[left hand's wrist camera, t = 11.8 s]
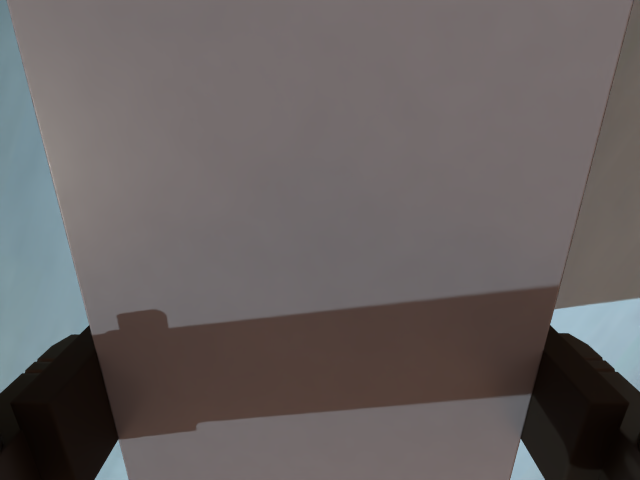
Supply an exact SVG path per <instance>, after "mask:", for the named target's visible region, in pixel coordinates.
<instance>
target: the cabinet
mask: <svg viewBox="0 0 640 480" xmlns="http://www.w3.org/2000/svg"><path fill="white" fill-rule="evenodd" d="M633 2H634V0H7V4H8V8H9V12H10V15H11V19H12V23H13V27H14V31H15V35H16V39H17V43H18V47H19V51H20V55H21V59H22V63H23V66H24V70H25V74H26V78H27V82H28V86H29V90H30V94H31V98H32V102H33V106H34V110H35V114H36V117H37V121H38V125H39V129H40V133H41V137H42V141H43V145H44V149H45V153H46V157H47V161H48V165H49V168H50V172H51V176H52V180H53V184H54V188H55V192H56V196H57V200H58V204H59V208H60V212H61V216H62V219H63V223H64V227H65V231H66V235H67V239H68V243H69V247H70V251H71V255H72V259H73V263H74V267H75V270H76V274H77V278H78V282H79V286H80V290H81V294H82V298H83V302H84V306H85V310H86V314H87V318H88V322H89V325H90V329H91V333H92V337H93V341H94V345H95V349H96V353H97V357H98V361H99V365H100V369H101V373H102V376H103V380H104V384H105V388H106V392H107V396H108V400H109V404H110V408H111V412H112V416H113V420H114V424H115V427H116V431H117V435H118V439H119V443H120V447H121V451H122V455H123V459H124V463H125V467H126V471H127V475H128V478H129V480H510V478H511V474H512V470H513V466H514V462H515V458H516V454H517V450H518V447H519V443H520V439H521V435H522V431H523V427H524V423H525V420H526V416H527V412H528V408H529V404H530V400H531V396H532V392H533V389H534V385H535V381H536V377H537V373H538V369H539V365H540V362H541V358H542V354H543V350H544V346H545V342H546V338H547V334H548V331H549V327H550V323H551V319H552V315H553V311H554V307H555V303H556V300H557V296H558V292H559V288H560V284H561V280H562V276H563V273H564V269H565V265H566V261H567V257H568V253H569V249H570V245H571V242H572V238H573V234H574V230H575V226H576V222H577V218H578V215H579V211H580V207H581V203H582V199H583V195H584V191H585V187H586V184H587V180H588V176H589V172H590V168H591V164H592V160H593V156H594V153H595V149H596V145H597V141H598V137H599V133H600V129H601V126H602V122H603V118H604V114H605V110H606V106H607V102H608V98H609V95H610V91H611V87H612V83H613V79H614V75H615V71H616V68H617V64H618V60H619V56H620V52H621V48H622V44H623V40H624V37H625V33H626V29H627V25H628V21H629V17H630V13H631V9H632V6H633Z"/></svg>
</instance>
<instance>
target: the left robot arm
mask: <svg viewBox="0 0 640 480" xmlns="http://www.w3.org/2000/svg"><path fill="white" fill-rule="evenodd" d="M521 440H522V441H523V443H524V445H525V446H526V448H527V450H528V451H529V453H530V455H531V457H532V458H533V460H534V462H535V463H536V465H537V467H538V468H539V470H540V472H541V473H542V475H543V477H544V478H545V480H640V392H639V391H638V390H637V389H636V388H635V387H634V386H633V385H632V384H630V383H629V382H628V381H627V380H626V379H625V378H624V377H623V376H622V375H621V374H619V373H618V372H615V369H614V368H613V367H612V366H611V365H610V364H609V363H607V362H606V361H603V360H602V357H601V356H600V355H599V354H598V353H596V352H595V351H594V350H593V349H592V348H591V347H590V346H589V345H588V344H586V343H584V342H582V341H581V340H579V339H577V338H576V337H574V336H572V335H570V334H569V333H558V332H557V331H556V330H555V329H554V328H553V327H552V326H550V327H549V331H548V334H547V338H546V342H545V346H544V350H543V354H542V358H541V362H540V365H539V369H538V373H537V377H536V381H535V385H534V389H533V392H532V396H531V400H530V404H529V408H528V412H527V416H526V420H525V423H524V427H523V431H522V435H521ZM117 441H118V435H117V431H116V427H115V424H114V420H113V416H112V412H111V408H110V404H109V400H108V396H107V392H106V388H105V384H104V380H103V376H102V373H101V369H100V365H99V361H98V357H97V353H96V349H95V345H94V341H93V337H92V333H91V329H90V325H89V326H88V327H87V328H86V329H85V330H84V331H83V332H82V333H81V334H80V335H70V336H68V337H67V338H65V339H63V340H61V341H60V342H58V343H56V344H54V345H53V346H51V347H50V348H49V349H48V350H47V351H46V352H45V353H44V354H43V355H42V356H41V357H39V358H38V359H37V362H34V363H33V364H32V365H31V366H30V367H29V368H27V369H26V370H25V373H22V374H21V375H20V376H19V377H18V378H17V379H16V380H14V381H13V382H12V383H11V384H10V385H9V386H8V387H7V388H6V389H5V390H4V391H2V392H1V393H0V480H94V479H95V478H96V476H97V474H98V473H99V471H100V469H101V468H102V466H103V464H104V463H105V461H106V459H107V458H108V456H109V454H110V452H111V451H112V449H113V447H114V446H115V444H116V442H117Z"/></svg>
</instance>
